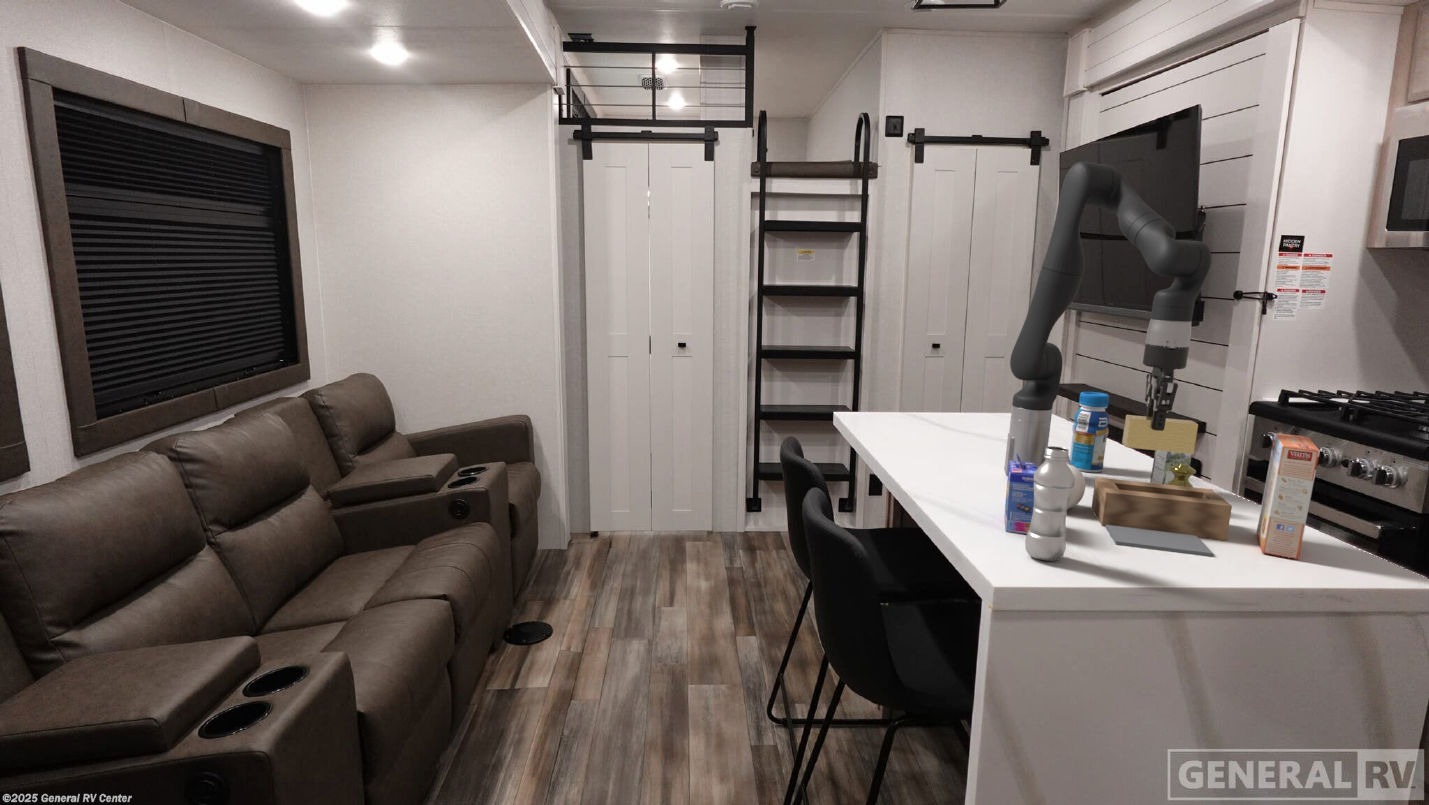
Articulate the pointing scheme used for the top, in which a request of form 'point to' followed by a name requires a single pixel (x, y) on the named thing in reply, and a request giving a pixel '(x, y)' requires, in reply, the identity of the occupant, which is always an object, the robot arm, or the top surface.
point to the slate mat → (1158, 540)
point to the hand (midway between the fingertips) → (1154, 427)
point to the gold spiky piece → (1181, 475)
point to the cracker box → (1287, 495)
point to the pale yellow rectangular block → (1160, 435)
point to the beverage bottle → (1090, 432)
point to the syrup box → (1167, 465)
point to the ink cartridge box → (1019, 496)
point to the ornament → (1076, 486)
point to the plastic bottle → (1050, 506)
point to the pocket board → (1161, 508)
